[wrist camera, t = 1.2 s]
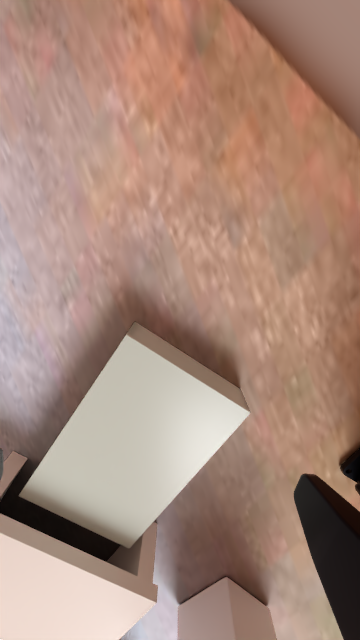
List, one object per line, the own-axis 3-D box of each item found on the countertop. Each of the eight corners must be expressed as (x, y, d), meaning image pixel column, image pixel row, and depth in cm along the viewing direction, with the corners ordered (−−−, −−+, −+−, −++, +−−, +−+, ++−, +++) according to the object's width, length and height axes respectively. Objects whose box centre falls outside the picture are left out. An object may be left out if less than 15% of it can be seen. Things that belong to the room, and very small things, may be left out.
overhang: (7, 448, 22) (-48, 511, 17) (161, 525, 24) (156, 602, 19) (-40, 525, 25) (-100, 601, 19) (104, 588, 27) (86, 671, 22)
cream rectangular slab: (134, 321, 19) (126, 334, 16) (240, 389, 20) (250, 412, 18) (39, 464, 22) (18, 496, 20) (135, 512, 24) (129, 548, 21)
